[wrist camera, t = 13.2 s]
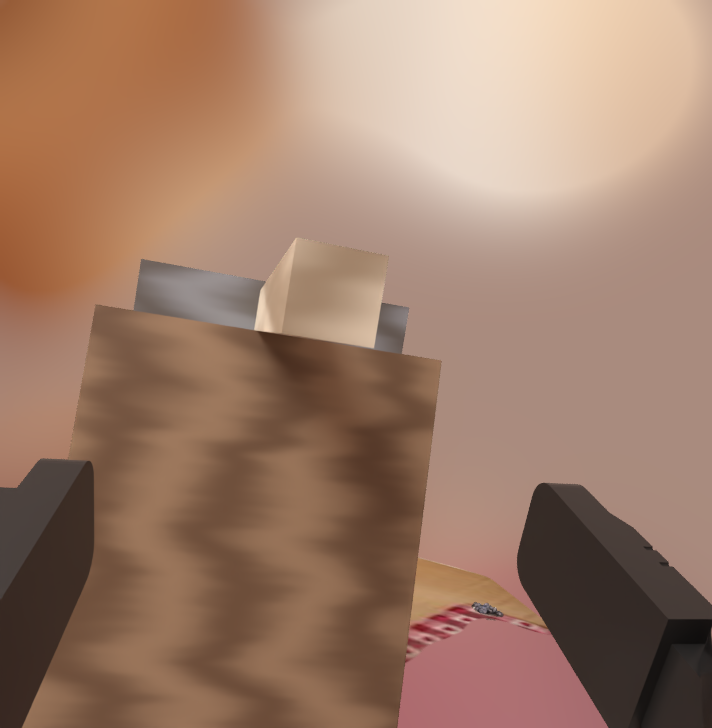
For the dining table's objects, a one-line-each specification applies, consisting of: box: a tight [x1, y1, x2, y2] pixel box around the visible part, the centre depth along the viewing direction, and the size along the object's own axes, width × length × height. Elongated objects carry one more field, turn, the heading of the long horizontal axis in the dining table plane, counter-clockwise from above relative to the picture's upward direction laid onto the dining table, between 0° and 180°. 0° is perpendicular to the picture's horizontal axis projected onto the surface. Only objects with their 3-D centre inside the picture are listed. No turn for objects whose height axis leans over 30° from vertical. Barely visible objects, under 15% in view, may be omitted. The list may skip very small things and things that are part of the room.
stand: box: [22, 305, 441, 728], centre depth 35 cm, size 18×15×32 cm
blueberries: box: [472, 602, 503, 620], centre depth 93 cm, size 7×8×2 cm
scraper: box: [134, 238, 409, 354], centre depth 27 cm, size 16×25×4 cm, turn 13°
